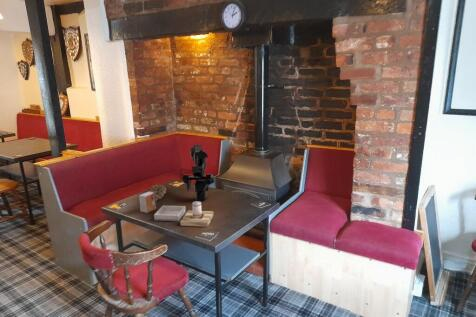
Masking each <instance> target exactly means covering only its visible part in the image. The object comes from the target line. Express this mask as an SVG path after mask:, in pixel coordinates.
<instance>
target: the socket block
mask: <svg viewBox="0 0 476 317" xmlns="http://www.w3.org/2000/svg"><path fill="white" fill-rule="evenodd" d="M213 217H214V211H209V210H207V211H206V210H202V219H193V211H192V210H187V211H186V212H185V213H184V215H183V216H182V217H181V219H180V220H179V221H180V226H181V227H183V226H185V227H207V228H208V227H209V225H210V223H211V220H212V219H213Z"/></svg>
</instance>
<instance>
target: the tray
mask: <svg viewBox="0 0 476 317" xmlns="http://www.w3.org/2000/svg"><path fill="white" fill-rule="evenodd" d="M186 213H187V211H186V206H185V205H165V204H164V205H162V206H160V207H159V209H158V210H157V211H156V212H155V213H154V215H153V218H154V221H157V222H159V221H160V222H179V221H181V220H182V218H183V217H184V216H185V214H186Z"/></svg>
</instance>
